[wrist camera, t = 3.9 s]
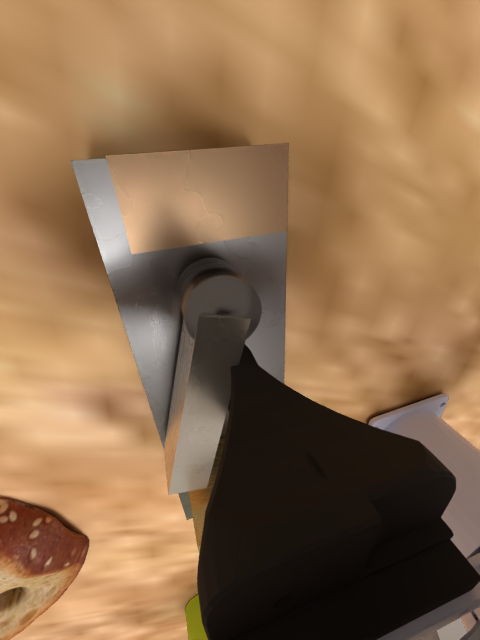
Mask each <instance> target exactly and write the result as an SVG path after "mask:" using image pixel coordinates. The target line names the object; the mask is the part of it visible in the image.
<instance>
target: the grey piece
mask: <svg viewBox="0 0 480 640" xmlns="http://www.w3.org/2000/svg"><path fill="white" fill-rule="evenodd" d="M288 153H289V143H284V144H269V145H255V146H240V147H225V148H210V149H195V150H181V151H166V152H151V153H136V154H121V155H106V158H100V159H86V160H71V164H72V167H73V170H74V173H75V176H76V179H77V182H78V185H79V188H80V191H81V194H82V197H83V201H84V204H85V207H86V210H87V213H88V216H89V219H90V222H91V225H92V228H93V231H94V235H95V238H96V241H97V244H98V247H99V250H100V253H101V256H102V259H103V262H104V265H105V268H106V272H107V275H108V278H109V281H110V284H111V287H112V290H113V293H114V296H115V299H116V302H117V305H118V309H119V312H120V315H121V318H122V321H123V324H124V327H125V330H126V333H127V336H128V339H129V342H130V346H131V349H132V352H133V355H134V358H135V361H136V364H137V367H138V370H139V373H140V376H141V379H142V383H143V386H144V389H145V392H146V395H147V398H148V401H149V404H150V407H151V410H152V413H153V416H154V420H155V423H156V426H157V429H158V432H159V435H160V438H161V441H162V444H163V447H165V440H166V433H167V427H168V420H169V413H170V406H171V400H172V393H173V386H174V379H175V373H176V366H177V359H178V352H179V346H180V339H181V332H182V325H183V318H184V317H183V314H182V311H181V308H180V304H179V301H178V298H177V291H176V290H177V282H178V279H179V277H180V275H181V274H182V272H183V271H184V270H185V268H186V267H188V266H189V265H190V264H191V263H193V262H195V261H197V260H199V259H203V258H219V259H222V260H224V261H226V262H228V263H229V264H231V265H232V266H233V267H234V268H235V269H236V270H237V272H238V273H239V274H240V275H241V276H242V277H243V278H244V279H245V280H246V281H247V282H248V283H249V284H250V285H251V286H252V287H253V289H254V290H255V291H256V292H257V294H258V296H259V298H260V300H261V305H262V314H261V319H260V321H259V324H258V326H257V328H256V329H255V331H254V332H253V333H252V335H251V336H250V337H249V338H247V339H246V340H245V345H246V346H247V347H248V348H249V349H250V350H251V352H252V354H253V356H254V358H255V360H256V362H257V364H258V365H259V366H260V367H261V368H263V369H264V370H265V371H267V372H268V373H269V374H271V375H272V376H273V377H275V378H276V379H278V380H279V381H280V382H282V383H283V384H284V364H285V311H286V258H287V205H288ZM228 418H229V411H228V409H227V413H226V416H225V420H224V424H223V428H222V432H221V436H220V438H223V437H226V431H227V425H228ZM178 494H179V497H180V500H181V503H182V506H183V509H184V512H185V515H186V518H187V520H188V519H191V518H193V515H192V509H191V502H190V496H189V491H188V492H182V493H178Z"/></svg>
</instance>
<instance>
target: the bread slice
mask: <svg viewBox="0 0 480 640" xmlns="http://www.w3.org/2000/svg"><path fill="white" fill-rule="evenodd" d="M88 548H89V539H88V537H87V536H85V535H82V534H77V533H75V532H73V531H71V530H69V529H67V528H66V527H64V526H63V525H62V524H61V522H60V521H59V520H57V519H56V518H55V517H53V516H52V515H50V514H49V513H47V512H45V511H43V510H41V509H39V508H37V507H35V506H32V505H29V504H26V503H23V502H20V501H17V500H13V499H9V498H0V640H10V639H11V638H12V637H14V636H16V635H17V634H18V633H20V632H21V631H23V630H24V629H25V628H26V627H28V626H29V625H30V624H31V623H32V622H33V621H34V620H35V619H36V618H37V617H39V616H40V615H41V614H42V613H44V612H45V611H46V610H47V609H48V608H49V607H50V606H52V605H53V604H54V603H55V602H56V601H57V600H58V599H59V598H60V597H61V596H62V595H63V593H64V592H65V591H66V590H67V588H68V587H69V586H70V585H71V583H72V582H73V581H74V579H75V578H76V576H77V575H78V573H79V571H80V570H81V568H82V566H83V564H84V562H85V559H86V555H87V552H88Z"/></svg>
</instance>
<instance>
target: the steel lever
mask: <svg viewBox="0 0 480 640" xmlns="http://www.w3.org/2000/svg"><path fill="white" fill-rule="evenodd" d="M176 291H177V298H178V301H179V304H180V308H181V311H182V314H183V317H184V318H183V325H182V332H181V339H180V346H179V352H178V359H177V366H176V373H175V379H174V386H173V393H172V400H171V406H170V413H169V420H168V427H167V433H166V440H165V447H164V455H165V465H166V476H167V486H168V495H171V494H176V493H182V492H188V491H193V490H199V489H204V488H207V485H208V482H209V478H210V474H211V470H212V466H213V462H214V459H215V455H216V451H217V447H218V443H219V439H220V436H221V432H222V428H223V424H224V420H225V416H226V413H227V409H228V405H229V401H230V397H231V367H232V366H236V365H239V363H240V359H241V355H242V351H243V348H244V344H245V340H246V339H247V338H249V337H250V336H251V335H252V333H253V332H254V331H255V329H256V328H257V326H258V324H259V321H260V319H261V314H262V305H261V300H260V298H259V296H258V294H257V292H256V291H255V290H254V289H253V287H252V286H251V285H250V284H249V283H248V282H247V281H246V280H245V279H244V278H243V277H242V276H241V275H240V274H239V273H238V272H237V270H236V269H235V268H234V267H233V266H232V265H231V264H229V263H228V262H226V261H224V260H222V259H219V258H203V259H199V260H197V261H195V262H193V263H191V264H190V265H189V266H188V267H186V268H185V270H184V271H183V272H182V274H181V275H180V277H179V279H178V282H177V290H176Z"/></svg>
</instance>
